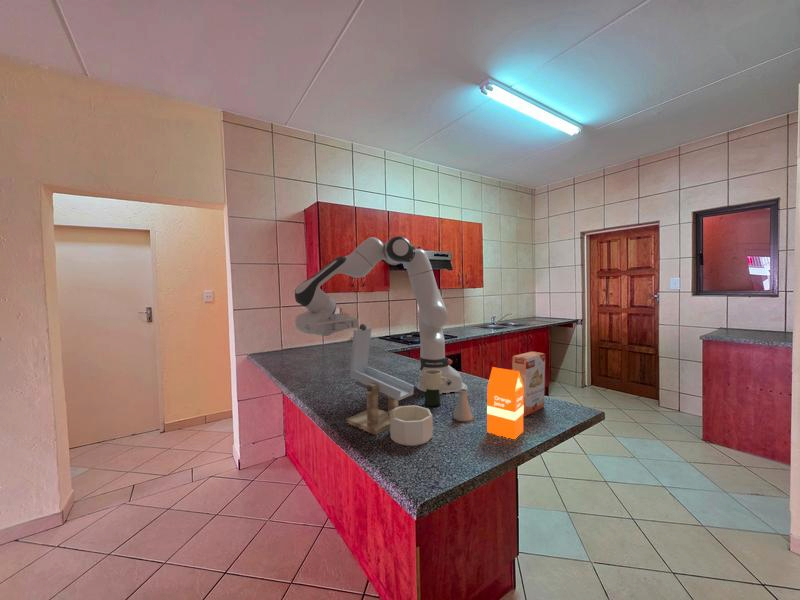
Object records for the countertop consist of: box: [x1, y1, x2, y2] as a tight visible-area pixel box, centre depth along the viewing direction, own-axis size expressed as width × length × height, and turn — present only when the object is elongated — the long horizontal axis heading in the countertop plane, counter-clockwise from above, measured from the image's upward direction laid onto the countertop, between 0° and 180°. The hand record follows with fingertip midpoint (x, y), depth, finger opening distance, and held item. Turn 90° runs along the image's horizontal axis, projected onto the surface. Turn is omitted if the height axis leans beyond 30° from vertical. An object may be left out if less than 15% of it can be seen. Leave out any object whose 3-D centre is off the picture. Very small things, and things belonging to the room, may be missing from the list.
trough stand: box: [345, 376, 399, 436], centre depth 107 cm, size 14×14×15 cm
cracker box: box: [511, 351, 546, 417], centre depth 116 cm, size 14×6×21 cm, turn 129°
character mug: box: [418, 369, 446, 407], centre depth 123 cm, size 11×7×13 cm, turn 70°
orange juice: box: [486, 366, 524, 440], centre depth 99 cm, size 8×9×20 cm
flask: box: [452, 388, 475, 422], centre depth 110 cm, size 7×7×10 cm
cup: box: [389, 404, 434, 447], centre depth 97 cm, size 13×13×7 cm
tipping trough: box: [349, 323, 415, 402], centre depth 104 cm, size 23×7×21 cm, turn 50°
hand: (348, 326), depth 114 cm, fingers closed
